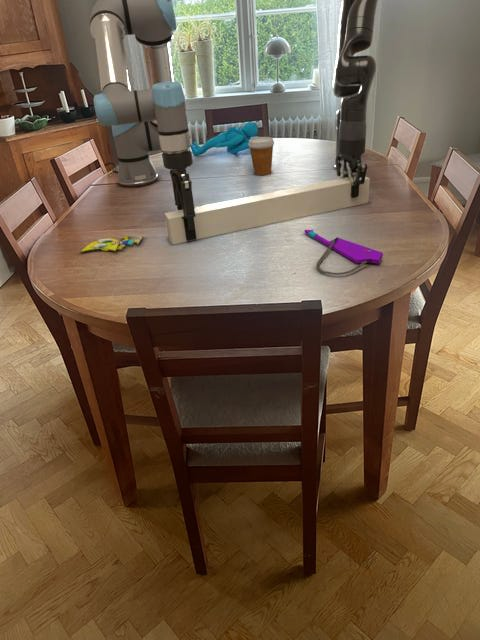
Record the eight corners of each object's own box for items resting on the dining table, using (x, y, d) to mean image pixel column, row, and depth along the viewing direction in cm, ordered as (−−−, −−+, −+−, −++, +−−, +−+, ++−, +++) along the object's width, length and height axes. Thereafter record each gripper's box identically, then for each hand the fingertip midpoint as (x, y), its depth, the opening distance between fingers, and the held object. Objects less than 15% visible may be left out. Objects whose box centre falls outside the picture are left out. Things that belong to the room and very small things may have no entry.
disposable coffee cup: (246, 176, 178) (244, 142, 172) (255, 168, 186) (253, 136, 179) (270, 177, 175) (269, 143, 168) (278, 169, 182) (277, 136, 176)
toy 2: (196, 135, 215) (258, 116, 205) (204, 159, 220) (265, 140, 210) (184, 145, 202) (251, 124, 191) (193, 169, 207) (259, 151, 196)
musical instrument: (365, 286, 105) (394, 240, 117) (364, 278, 104) (394, 233, 116) (270, 272, 118) (305, 232, 130) (268, 265, 117) (304, 225, 129)
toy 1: (132, 249, 128) (79, 250, 130) (133, 252, 128) (80, 253, 130) (143, 234, 136) (94, 235, 138) (144, 236, 137) (94, 237, 139)
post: (172, 244, 131) (168, 218, 127) (168, 238, 135) (164, 213, 131) (368, 202, 146) (370, 178, 142) (359, 198, 150) (360, 174, 146)
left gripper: (200, 155, 115) (211, 244, 127) (182, 141, 129) (193, 222, 142) (169, 160, 113) (183, 250, 126) (154, 145, 127) (168, 227, 140)
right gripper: (378, 138, 131) (373, 199, 140) (350, 129, 142) (348, 186, 152) (354, 142, 129) (351, 203, 138) (328, 133, 141) (326, 190, 150)
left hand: (188, 235), depth 134 cm, fingers closed on post, 5 cm apart
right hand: (349, 194), depth 145 cm, fingers closed on post, 5 cm apart
